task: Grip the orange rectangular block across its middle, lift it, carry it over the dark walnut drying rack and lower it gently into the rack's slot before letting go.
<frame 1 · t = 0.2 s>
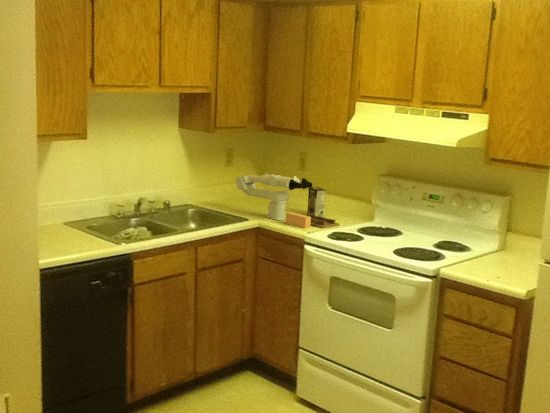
hand: (307, 185, 372), 21 cm above the worktop, tool horizontal, fingers open, 7 cm apart
coffee box: (315, 216, 402), on the worktop
drying rack: (315, 223, 382), on the worktop
orange rectangular block: (297, 226, 374), on the worktop
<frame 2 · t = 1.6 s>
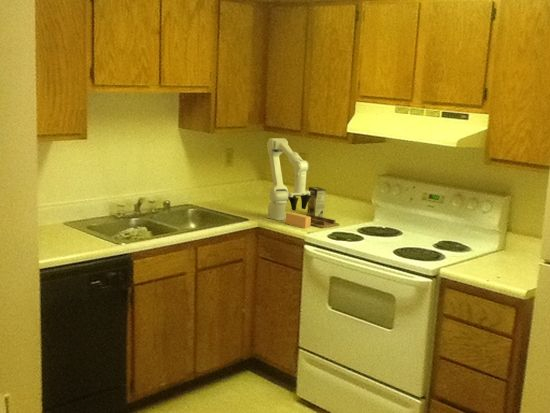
hand: (298, 209, 372), 9 cm above the worktop, tool pointing down, fingers open, 7 cm apart
nothing on the worktop moved.
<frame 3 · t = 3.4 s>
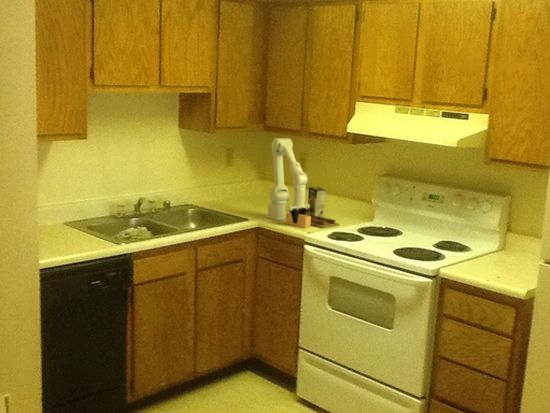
hand: (297, 222, 373), 2 cm above the worktop, tool pointing down, fingers closed on orange rectangular block, 4 cm apart
orange rectangular block: (297, 225, 374), on the worktop, touching gripper
everything else where it was.
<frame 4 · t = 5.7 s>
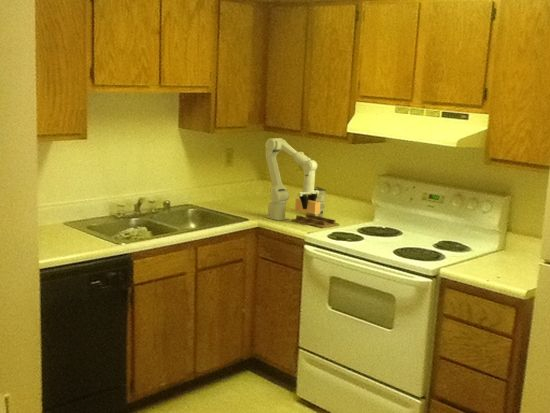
hand: (307, 208, 376), 9 cm above the worktop, tool pointing down, fingers closed on orange rectangular block, 4 cm apart
orange rectangular block: (307, 211, 377), point 7 cm above the worktop, touching gripper
everything else where it was.
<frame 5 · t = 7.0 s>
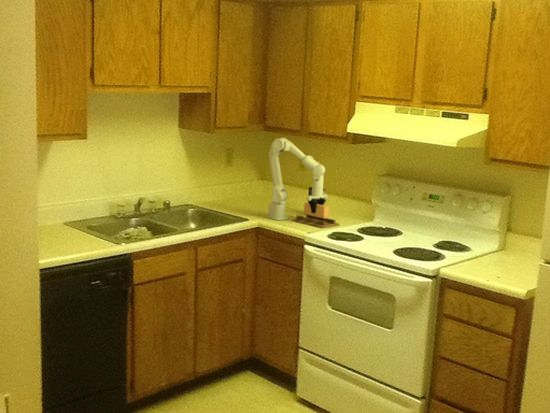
hand: (316, 212, 381), 6 cm above the worktop, tool pointing down, fingers closed on orange rectangular block, 4 cm apart
orange rectangular block: (316, 215, 382), point 4 cm above the worktop, touching gripper
everything else where it was.
when the fingers open (4 cm above the worktop, at t = 8.2 s): orange rectangular block drops 1 cm, resting on drying rack.
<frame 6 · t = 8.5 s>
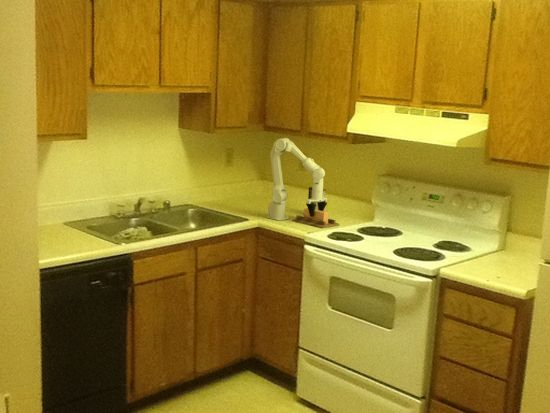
hand: (315, 215, 382), 4 cm above the worktop, tool pointing down, fingers open, 6 cm apart
orange rectangular block: (315, 221, 382), point 1 cm above the worktop, touching drying rack
everything else where it was.
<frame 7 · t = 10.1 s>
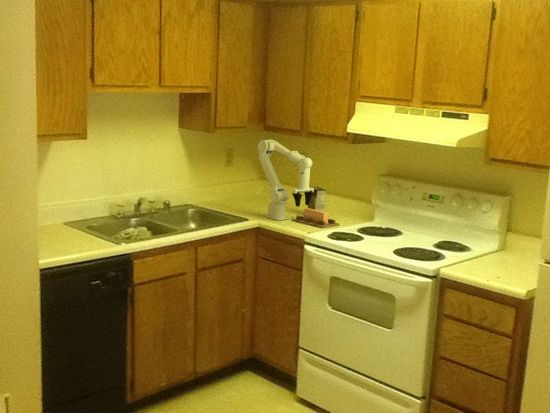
hand: (302, 205, 380), 9 cm above the worktop, tool pointing down, fingers open, 7 cm apart
nothing on the worktop moved.
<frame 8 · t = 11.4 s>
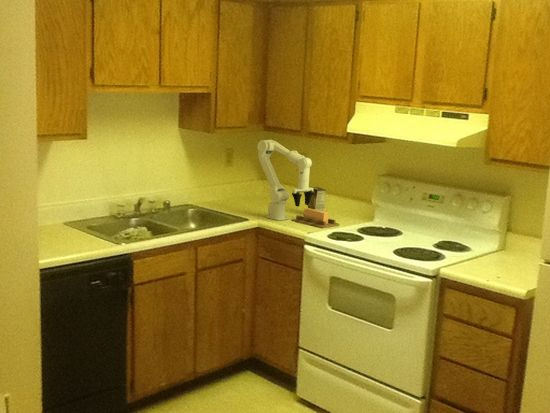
hand: (302, 205, 380), 9 cm above the worktop, tool pointing down, fingers open, 7 cm apart
nothing on the worktop moved.
at the end: orange rectangular block 0.0 cm off-centre on the drying rack, point 1.0 cm above the drying rack's base; orange rectangular block tilted 0°; the gripper is holding nothing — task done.
